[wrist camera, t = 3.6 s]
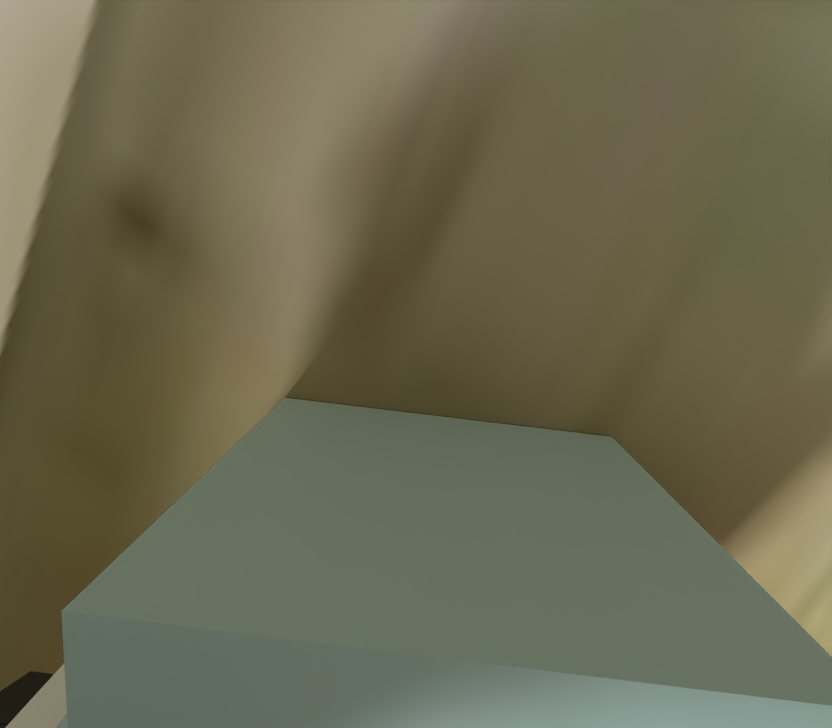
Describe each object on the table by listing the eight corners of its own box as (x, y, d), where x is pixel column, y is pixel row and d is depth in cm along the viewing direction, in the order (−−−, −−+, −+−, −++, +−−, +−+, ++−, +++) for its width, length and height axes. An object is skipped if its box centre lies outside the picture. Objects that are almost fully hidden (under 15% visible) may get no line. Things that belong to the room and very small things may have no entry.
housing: (269, 669, 17) (91, 1123, 8) (284, 397, 15) (60, 611, 6) (553, 704, 17) (687, 1201, 8) (611, 436, 15) (888, 713, 6)
